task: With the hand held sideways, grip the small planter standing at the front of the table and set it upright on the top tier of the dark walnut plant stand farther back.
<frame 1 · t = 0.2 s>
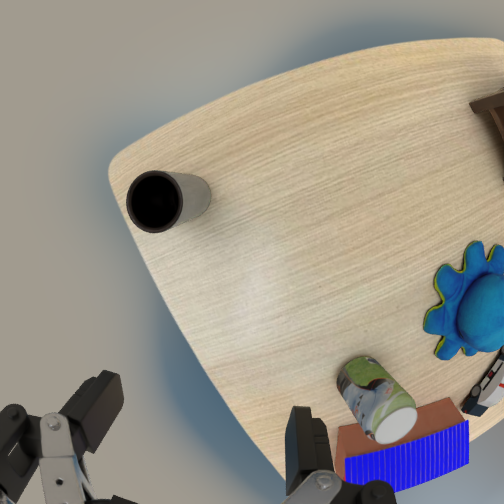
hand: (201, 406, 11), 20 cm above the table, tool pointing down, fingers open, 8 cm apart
beverage can: (360, 368, 33), on the table
planter: (190, 196, 30), on the table
toy car: (491, 371, 33), on the table
house: (392, 434, 36), on the table
plush toy: (470, 302, 31), on the table
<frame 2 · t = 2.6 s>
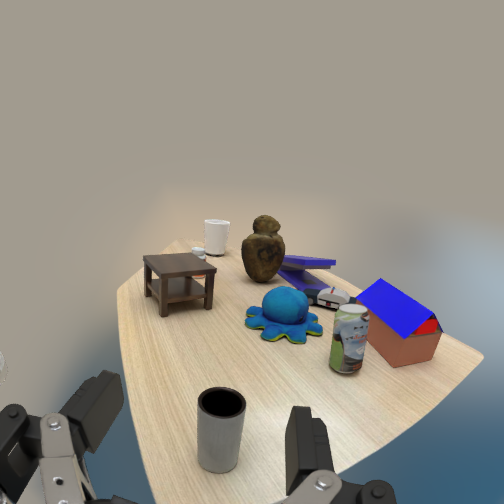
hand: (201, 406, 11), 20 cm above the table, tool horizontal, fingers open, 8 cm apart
stapler: (296, 278, 96), on the table
beverage can: (340, 367, 48), on the table
planter: (217, 459, 27), on the table
cup: (214, 254, 112), on the table
toy car: (328, 307, 75), on the table
house: (389, 341, 58), on the table
pill bottle: (196, 276, 86), on the table
plant stand: (176, 301, 67), on the table
sculpture: (259, 281, 89), on the table
plush toy: (283, 324, 63), on the table
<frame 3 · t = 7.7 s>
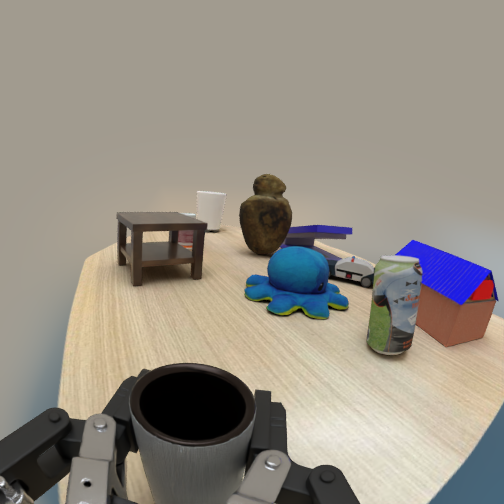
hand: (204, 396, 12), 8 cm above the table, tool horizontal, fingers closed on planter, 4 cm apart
stapler: (305, 253, 81), on the table
beverage can: (381, 348, 33), on the table
cup: (208, 230, 97), on the table
toy car: (347, 281, 60), on the table
house: (430, 318, 43), on the table
pill bottle: (185, 248, 71), on the table
plant stand: (156, 271, 52), on the table
sculpture: (260, 255, 73), on the table
plush toy: (295, 297, 48), on the table
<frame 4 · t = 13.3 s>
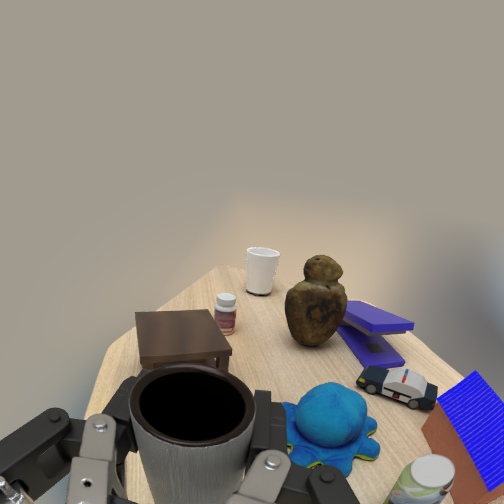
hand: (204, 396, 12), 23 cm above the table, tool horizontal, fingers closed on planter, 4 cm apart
stapler: (359, 337, 66), on the table
cup: (258, 292, 89), on the table
toy car: (394, 395, 44), on the table
house: (465, 462, 25), on the table
pill bottle: (223, 331, 64), on the table
plant stand: (179, 378, 45), on the table
sculpture: (307, 344, 61), on the table
plush toy: (324, 435, 35), on the table
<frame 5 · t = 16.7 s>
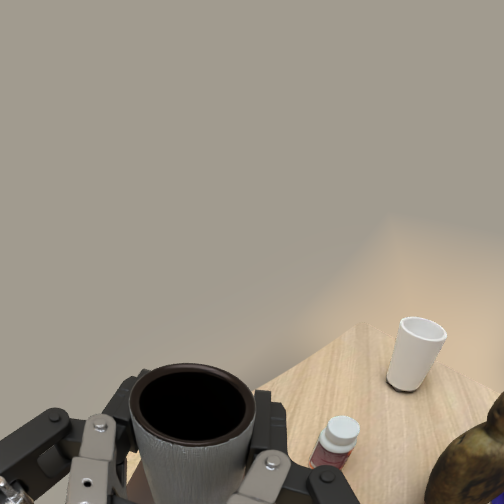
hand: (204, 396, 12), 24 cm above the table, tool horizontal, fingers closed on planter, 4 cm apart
cup: (401, 383, 48), on the table
pill bottle: (324, 465, 30), on the table
when the fingers open (18 cm above the table, at t = 19.4 s): planter stays where it is, resting on plant stand.
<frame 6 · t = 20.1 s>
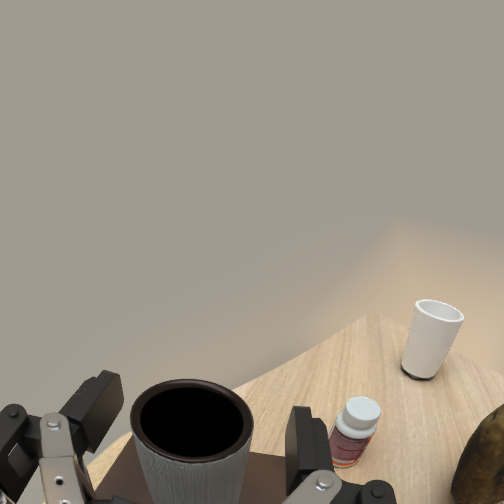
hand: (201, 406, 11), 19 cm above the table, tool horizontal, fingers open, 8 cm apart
cup: (416, 371, 44), on the table
pill bottle: (340, 455, 27), on the table
sculpture: (466, 499, 16), on the table
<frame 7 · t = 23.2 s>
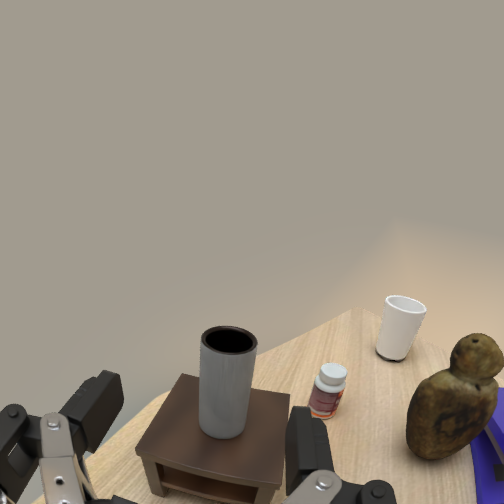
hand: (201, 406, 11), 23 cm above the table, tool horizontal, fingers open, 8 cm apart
stapler: (491, 446, 25), on the table
planter: (221, 424, 25), point 10 cm above the table, touching plant stand
cup: (389, 355, 58), on the table
pill bottle: (320, 411, 40), on the table
plant stand: (218, 471, 27), on the table
sculpture: (423, 453, 29), on the table
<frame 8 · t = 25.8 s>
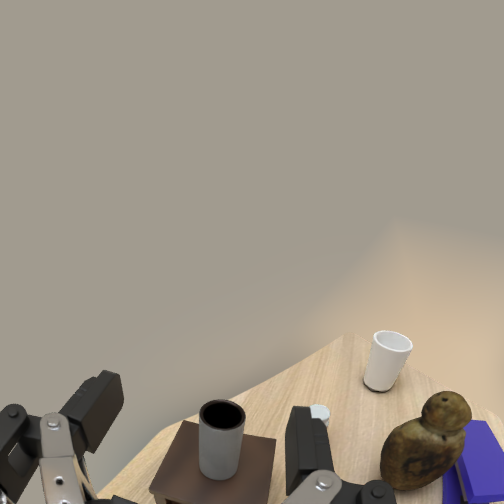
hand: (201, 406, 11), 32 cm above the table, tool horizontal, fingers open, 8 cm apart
stapler: (463, 477, 28), on the table
planter: (218, 467, 27), point 10 cm above the table, touching plant stand
cup: (376, 385, 60), on the table
pill bottle: (306, 442, 43), on the table
plant stand: (215, 497, 30), on the table
sculpture: (396, 483, 31), on the table
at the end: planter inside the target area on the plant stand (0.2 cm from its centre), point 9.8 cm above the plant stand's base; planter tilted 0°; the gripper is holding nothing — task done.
